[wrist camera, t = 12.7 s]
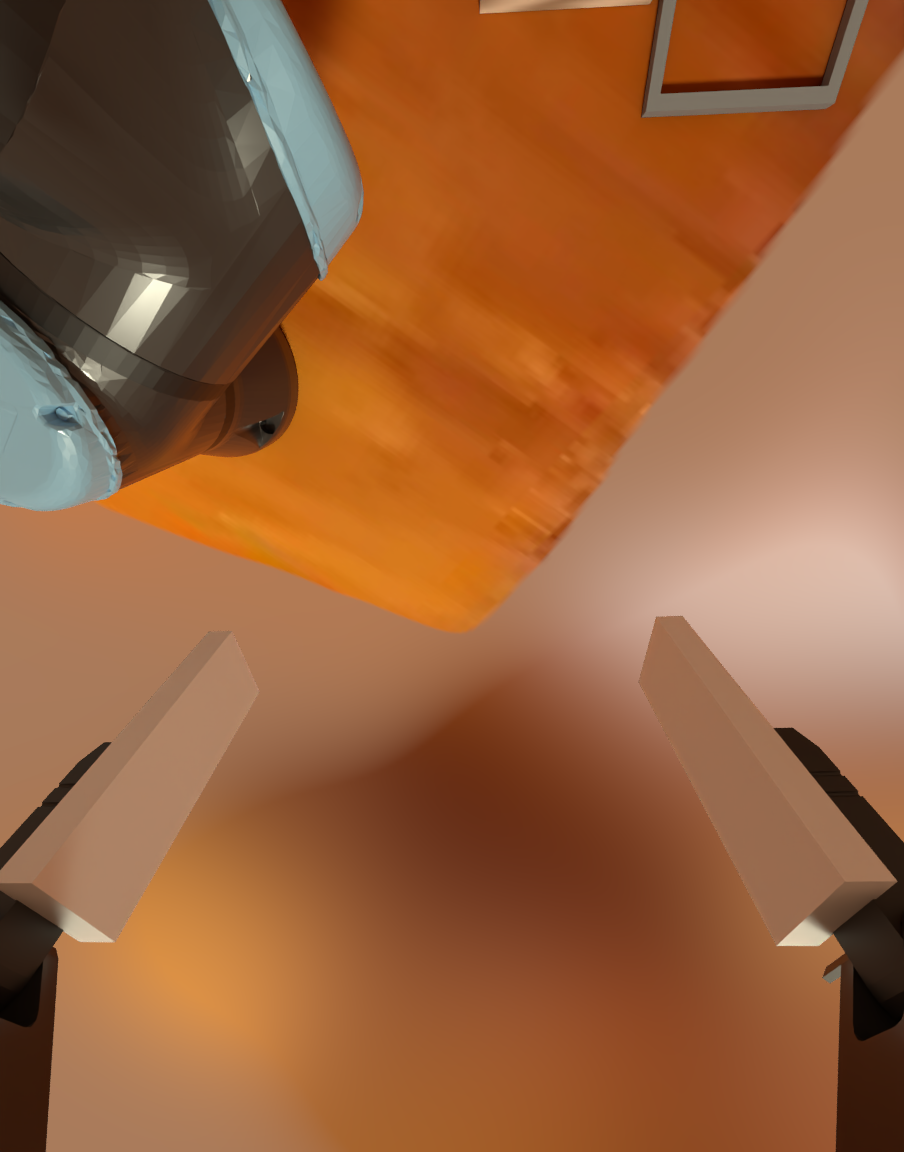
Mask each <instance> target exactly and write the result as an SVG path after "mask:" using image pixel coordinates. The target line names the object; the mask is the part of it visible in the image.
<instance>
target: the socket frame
mask: <svg viewBox="0 0 904 1152" xmlns="http://www.w3.org/2000/svg"><path fill="white" fill-rule="evenodd" d="M867 3H868V0H848V1H847V4H846V7H845V10H844V14H843V17H842V20H841V23H840V27H839V30H838V33H837V36H836V39H835V43H834V46H833V49H832V52H831V55H830V59H829V62H828V65H827V68H826V71H825V75H824V78H823V81H822V84H821V86H814V87H793V88H772V89H752V90H731V91H710V92H690V93H669V94H661V88H662V82H663V76H664V70H665V64H666V58H667V53H668V47H669V41H670V35H671V29H672V23H673V17H674V11H675V6H676V0H660V1H659V7H658V14H657V20H656V26H655V33H654V39H653V46H652V52H651V58H650V65H649V71H648V78H647V84H646V90H645V97H644V103H643V110H642V116H641V117H662V116H684V115H705V114H727V113H748V112H769V111H791V110H812V109H826V108H827V107H829V106H831V105H832V104H834V103H835V101H836V97H837V94H838V91H839V88H840V85H841V82H842V79H843V76H844V73H845V70H846V67H847V64H848V61H849V58H850V55H851V52H852V49H853V46H854V43H855V40H856V37H857V34H858V31H859V28H860V25H861V21H862V18H863V15H864V12H865V9H866V6H867Z"/></svg>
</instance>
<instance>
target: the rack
mask: <svg viewBox="0 0 904 1152" xmlns="http://www.w3.org/2000/svg"><path fill="white" fill-rule="evenodd" d="M651 1H652V0H480V14H482V13H501V12H519V11H537V10H555V9H573V8H591V7H609V6H627V5H645V4H650V3H651Z"/></svg>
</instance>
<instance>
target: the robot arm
mask: <svg viewBox="0 0 904 1152" xmlns="http://www.w3.org/2000/svg"><path fill="white" fill-rule="evenodd" d="M363 194H364V192H363V185H362V180H361V175H360V170H359V167H358V164H357V161H356V158H355V155H354V153H353V150H352V148H351V145H350V143H349V140H348V138H347V135H346V133H345V131H344V129H343V126H342V124H341V122H340V120H339V118H338V115H337V113H336V111H335V109H334V106H333V104H332V102H331V100H330V98H329V96H328V94H327V92H326V89H325V87H324V85H323V83H322V81H321V79H320V77H319V75H318V73H317V71H316V69H315V67H314V65H313V63H312V61H311V59H310V57H309V55H308V53H307V51H306V49H305V47H304V45H303V43H302V41H301V39H300V37H299V35H298V33H297V31H296V29H295V27H294V25H293V23H292V21H291V19H290V17H289V15H288V13H287V11H286V9H285V7H284V5H283V3H282V1H281V0H0V504H3V505H8V506H12V507H24V508H27V509H31V510H35V511H54V510H61V509H66V508H70V507H73V506H76V505H79V504H83V503H86V502H89V501H93V500H101V499H106V498H108V497H110V496H111V495H112V494H114V493H116V492H117V491H118V490H119V489H122V488H124V487H126V486H129V485H131V484H133V483H135V482H138V481H140V480H142V479H144V478H147V477H149V476H151V475H154V474H156V473H158V472H160V471H163V470H165V469H167V468H170V467H172V466H174V465H176V464H179V463H181V462H183V461H185V460H188V459H190V458H192V457H195V456H197V455H199V454H202V455H211V456H220V457H238V456H244V455H248V454H252V453H255V452H257V451H259V450H261V449H263V448H265V447H267V446H268V445H270V444H272V443H273V442H275V441H276V440H277V439H278V438H280V437H281V436H282V434H283V433H284V432H285V431H286V429H287V428H288V426H289V425H290V423H291V421H292V419H293V416H294V413H295V410H296V406H297V400H298V378H297V371H296V366H295V362H294V359H293V355H292V352H291V350H290V347H289V345H288V343H287V340H286V338H285V336H284V335H283V333H282V331H281V329H280V328H279V325H280V324H281V322H282V321H283V320H284V319H285V318H286V316H287V315H288V314H289V313H290V311H291V310H292V309H293V308H294V306H295V305H296V304H297V303H298V302H299V300H300V299H301V298H302V297H303V295H304V294H305V293H306V292H307V290H308V289H309V288H310V287H311V286H312V284H313V283H314V282H315V281H316V279H317V278H318V279H319V280H320V281H322V280H323V279H324V278H325V277H326V275H327V272H328V265H329V264H330V262H331V261H332V259H333V258H334V257H335V255H336V254H337V253H338V251H339V250H340V249H341V247H342V246H343V244H344V243H345V242H346V240H347V239H348V238H349V236H350V235H351V234H352V232H353V231H354V229H355V228H356V226H357V225H358V222H359V220H360V218H361V214H362V210H363ZM639 684H640V686H641V688H642V690H643V692H644V694H645V695H646V697H647V699H648V701H649V703H650V705H651V707H652V709H653V711H654V713H655V715H656V716H657V718H658V720H659V722H660V724H661V726H662V728H663V730H664V732H665V734H666V736H667V737H668V739H669V741H670V743H671V745H672V747H673V749H674V751H675V753H676V755H677V757H678V759H679V760H680V762H681V764H682V766H683V768H684V770H685V772H686V774H687V776H688V777H689V779H690V782H691V783H692V785H693V787H694V789H695V791H696V793H697V795H698V797H699V799H700V801H701V802H702V804H703V806H704V808H705V810H706V812H707V814H708V816H709V818H710V820H711V821H712V823H713V825H714V827H715V829H716V831H717V833H718V835H719V837H720V839H721V841H722V843H723V844H724V846H725V848H726V850H727V852H728V854H729V856H730V858H731V859H732V862H733V864H734V865H735V867H736V869H737V871H738V873H739V875H740V877H741V879H742V881H743V882H744V884H745V886H746V888H747V890H748V892H749V894H750V896H751V898H752V900H753V902H754V904H755V905H756V908H757V909H758V911H759V913H760V915H761V917H762V919H763V921H764V923H765V925H766V927H767V929H768V930H769V932H770V934H771V936H772V938H773V940H774V942H775V944H776V945H777V946H819V945H820V944H822V943H823V942H824V941H825V940H826V939H828V938H829V937H830V936H831V935H833V934H834V935H835V937H836V938H837V940H838V942H839V943H840V945H841V947H842V948H843V950H844V951H845V954H844V955H842V956H841V957H840V958H838V959H837V960H835V961H834V962H833V963H831V964H830V965H828V966H827V967H826V969H825V972H824V975H823V977H822V978H823V979H825V980H826V981H828V982H829V983H831V982H833V981H834V980H836V979H837V978H839V977H840V976H841V985H840V986H841V987H840V1021H839V1057H838V1059H839V1060H838V1091H837V1125H836V1126H837V1127H836V1152H904V842H903V841H902V840H901V839H900V838H899V837H898V836H897V835H896V833H895V832H894V831H893V830H892V829H891V828H890V827H889V826H888V824H887V823H886V822H885V821H884V820H883V819H882V818H881V817H880V815H879V814H878V813H877V812H876V811H875V810H874V809H873V807H872V806H871V805H870V804H869V803H868V802H867V801H866V800H865V798H863V796H859V795H858V791H857V789H856V788H855V787H854V786H853V785H852V784H851V783H850V782H849V780H848V779H847V778H846V777H845V776H842V775H841V774H840V770H839V769H838V768H837V767H836V766H835V765H834V764H833V762H832V761H831V760H830V759H829V758H828V757H827V756H826V754H825V753H824V752H823V751H822V750H821V749H820V748H819V747H818V746H817V745H815V744H814V743H813V742H811V741H810V740H808V739H807V738H806V737H804V736H803V735H802V734H800V733H799V732H797V731H796V730H795V729H794V728H773V727H772V726H771V725H770V723H769V722H768V721H767V720H766V719H765V717H764V716H763V715H762V714H761V712H760V711H759V710H758V709H757V708H756V706H755V705H754V704H753V703H752V701H751V700H750V699H749V698H748V696H747V695H746V694H745V693H744V692H743V690H742V689H741V688H740V686H739V685H738V684H737V683H736V682H735V680H734V679H733V678H732V677H731V675H730V674H729V673H728V672H727V670H726V669H725V668H724V667H723V666H722V664H721V663H720V662H719V661H718V659H717V658H716V657H715V656H714V654H713V653H712V652H711V651H710V649H709V648H708V647H707V646H706V645H705V643H704V642H703V641H702V640H701V638H700V637H699V636H698V635H697V634H696V632H695V631H694V630H693V629H692V628H691V626H690V625H689V624H688V622H687V621H686V620H685V619H684V617H683V616H667V617H656V619H655V623H654V627H653V631H652V634H651V638H650V641H649V645H648V649H647V652H646V656H645V660H644V664H643V667H642V671H641V674H640V678H639ZM258 694H259V690H258V687H257V685H256V683H255V681H254V679H253V677H252V674H251V672H250V670H249V667H248V665H247V663H246V661H245V659H244V656H243V654H242V652H241V650H240V648H239V645H238V643H237V641H236V639H235V637H234V635H233V632H232V631H217V632H208V633H207V634H206V635H205V636H204V638H203V639H202V640H201V641H200V642H199V643H198V644H197V645H196V647H195V648H194V649H193V650H192V651H191V652H190V654H189V655H188V656H187V657H186V658H185V659H184V660H183V662H182V663H181V664H180V665H179V666H178V667H177V669H176V670H175V671H174V672H173V673H172V674H171V675H170V677H169V678H168V679H167V680H166V681H165V682H164V683H163V685H162V686H161V687H160V688H159V689H158V690H157V691H156V692H155V694H154V695H153V696H152V697H151V698H150V699H149V700H148V702H147V703H146V704H145V705H144V706H143V707H142V709H141V710H140V711H139V712H138V713H137V714H136V715H135V717H134V718H133V719H132V720H131V721H130V722H129V723H128V725H127V726H126V727H125V728H124V729H123V730H122V731H121V733H120V734H119V735H118V736H117V737H116V739H115V740H114V741H113V742H105V743H103V744H102V745H100V746H99V747H98V748H96V749H95V750H94V751H92V752H91V753H90V754H88V755H87V756H86V757H85V758H83V759H82V760H81V761H79V762H78V763H77V765H76V766H75V767H74V768H73V769H72V770H71V771H70V772H69V773H68V774H67V776H66V777H65V778H64V779H63V780H62V781H61V782H60V783H59V787H58V788H55V789H54V790H53V791H52V792H51V793H50V794H49V795H48V796H47V798H46V799H45V800H44V801H43V802H42V806H41V807H38V808H37V809H36V810H35V811H34V812H33V813H32V814H31V815H30V816H29V817H28V819H27V820H26V821H25V822H24V823H23V824H22V825H21V826H20V827H19V828H18V829H17V830H16V832H15V833H14V834H13V835H12V836H11V837H10V838H9V839H8V840H7V841H6V843H5V844H4V845H3V846H2V847H1V848H0V1152H46V1138H47V1122H48V1107H49V1092H50V1076H51V1060H52V1046H53V1031H54V1016H55V1001H56V1000H55V999H56V985H57V970H58V956H57V951H56V948H54V947H53V945H54V944H55V942H56V941H57V939H58V938H59V936H60V935H61V933H62V932H63V931H64V932H65V933H67V934H68V935H70V936H71V937H73V938H74V939H76V940H78V941H79V942H116V940H117V938H118V936H119V935H120V933H121V931H122V929H123V928H124V926H125V924H126V923H127V921H128V919H129V917H130V916H131V914H132V912H133V910H134V909H135V906H136V905H137V903H138V902H139V900H140V898H141V896H142V895H143V893H144V891H145V889H146V888H147V886H148V884H149V883H150V881H151V879H152V877H153V876H154V874H155V872H156V870H157V869H158V867H159V865H160V863H161V862H162V860H163V858H164V857H165V855H166V853H167V851H168V850H169V848H170V846H171V844H172V842H173V841H174V839H175V837H176V836H177V834H178V832H179V831H180V829H181V827H182V825H183V824H184V822H185V820H186V818H187V817H188V815H189V813H190V811H191V810H192V808H193V806H194V804H195V803H196V801H197V799H198V798H199V796H200V794H201V792H202V791H203V789H204V787H205V785H206V784H207V782H208V780H209V778H210V777H211V775H212V773H213V772H214V770H215V768H216V766H217V765H218V763H219V761H220V759H221V758H222V756H223V754H224V753H225V750H226V749H227V747H228V746H229V744H230V742H231V740H232V739H233V737H234V735H235V733H236V732H237V730H238V728H239V726H240V725H241V723H242V721H243V720H244V718H245V716H246V714H247V712H248V711H249V709H250V707H251V706H252V704H253V702H254V700H255V699H256V697H257V695H258Z"/></svg>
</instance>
